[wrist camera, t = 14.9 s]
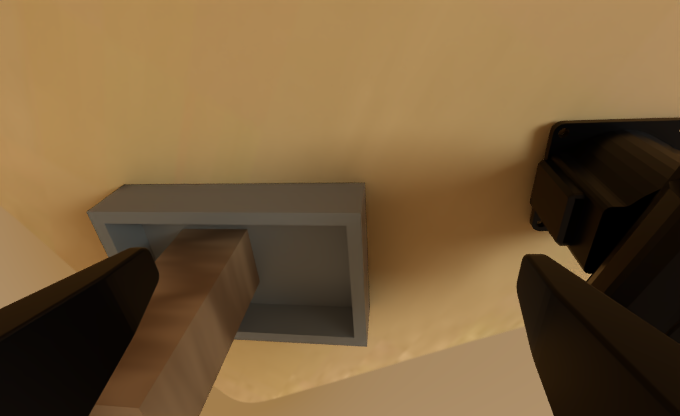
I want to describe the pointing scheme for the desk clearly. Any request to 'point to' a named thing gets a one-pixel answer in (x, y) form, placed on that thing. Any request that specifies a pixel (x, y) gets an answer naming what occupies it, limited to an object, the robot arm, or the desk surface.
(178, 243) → the walnut block
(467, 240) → the desk surface
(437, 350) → the desk surface
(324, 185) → the tray
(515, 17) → the desk surface
